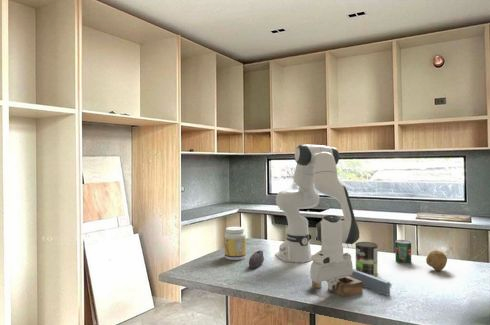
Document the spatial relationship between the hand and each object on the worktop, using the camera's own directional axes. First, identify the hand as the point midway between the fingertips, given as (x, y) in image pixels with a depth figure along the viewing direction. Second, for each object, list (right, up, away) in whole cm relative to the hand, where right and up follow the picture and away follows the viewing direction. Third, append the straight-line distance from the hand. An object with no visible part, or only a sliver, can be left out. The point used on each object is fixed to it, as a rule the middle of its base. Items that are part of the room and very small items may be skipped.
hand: (332, 288), depth 145 cm
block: (+6, -2, +3) cm, 7 cm away
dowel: (-5, -2, +9) cm, 10 cm away
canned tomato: (+49, -1, +44) cm, 66 cm away
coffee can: (+23, -2, +26) cm, 35 cm away
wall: (+17, -2, +9) cm, 19 cm away
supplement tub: (-42, -2, +56) cm, 70 cm away
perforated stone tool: (-31, -2, +39) cm, 50 cm away
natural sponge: (+58, -1, +28) cm, 65 cm away
